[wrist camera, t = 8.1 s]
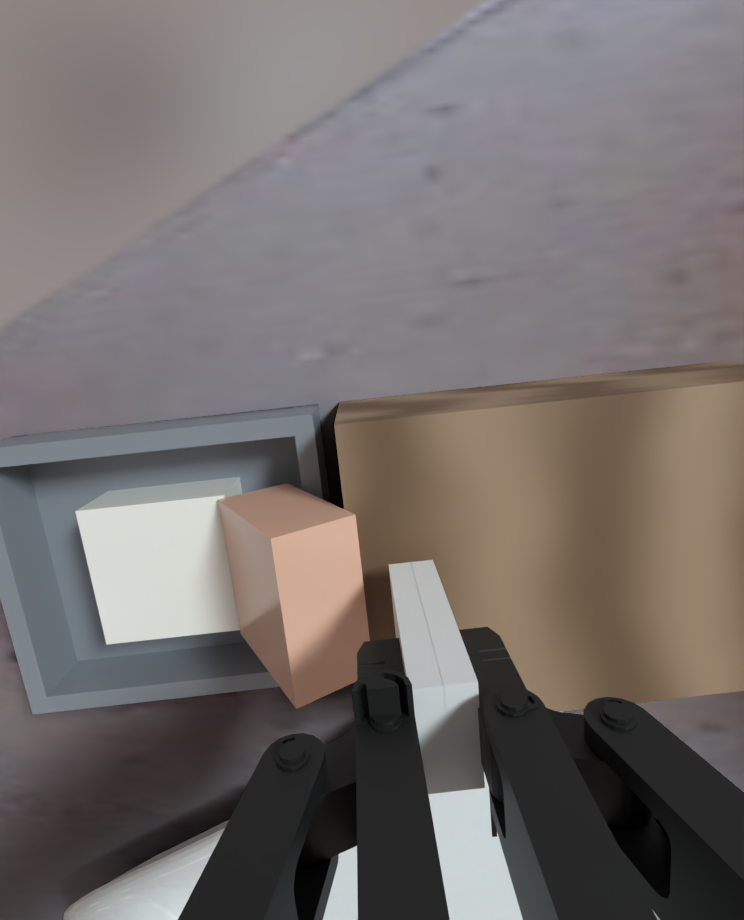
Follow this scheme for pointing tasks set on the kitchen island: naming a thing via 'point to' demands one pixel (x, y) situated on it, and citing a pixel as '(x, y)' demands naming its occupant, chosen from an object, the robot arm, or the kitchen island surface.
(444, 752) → the robot arm
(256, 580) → the terracotta tile
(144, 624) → the cream tile
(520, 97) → the kitchen island surface
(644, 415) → the brushed bronze panel
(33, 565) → the bin
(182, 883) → the square plate
